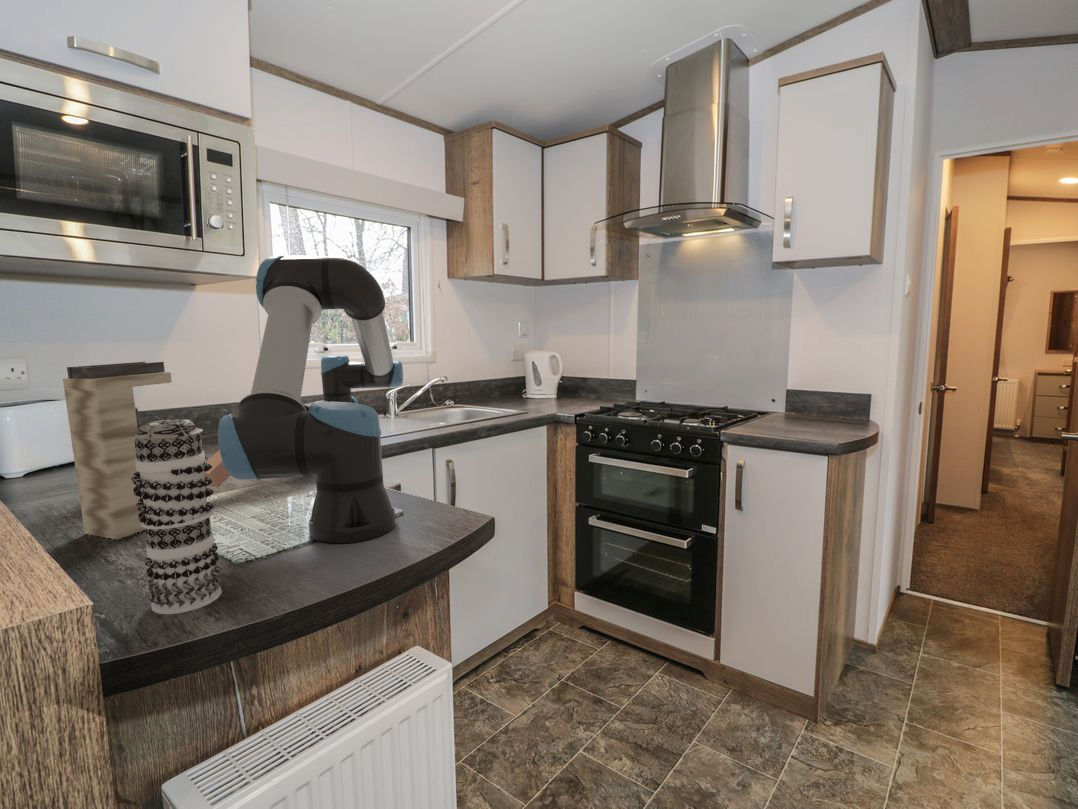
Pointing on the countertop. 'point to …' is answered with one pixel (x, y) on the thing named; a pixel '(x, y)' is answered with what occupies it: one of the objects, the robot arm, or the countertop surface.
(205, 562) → the decorative candle
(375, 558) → the countertop surface
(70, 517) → the countertop surface
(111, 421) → the shelf stand
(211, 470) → the reddish brown bar
